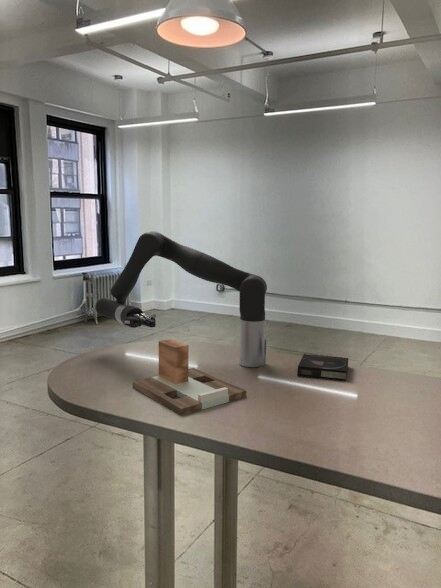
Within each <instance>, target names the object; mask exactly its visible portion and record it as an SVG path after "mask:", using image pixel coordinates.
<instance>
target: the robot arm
mask: <svg viewBox="0 0 441 588" xmlns="http://www.w3.org/2000/svg"><path fill="white" fill-rule="evenodd" d="M154 257H160V258H163V259H166V260H168V261H171V262H173V263H175V264H177V265H178V266H179V267H180V268H181V269H182V270H184V271H185V272H186V273H188V274H190V275H192V276H194V277H196V278H199V279H201V280H203V281H207V282H209V283H213V284H218V285H222V286H223V285H224V286H227V287H230V288H232V289H234V290H235V291H237V292H239V317H240V318H239V319H240V320H239V353H238V356H239V361H238V362H239V363H238V364H239V365H240V366H242V367H246V368H258V367H259V368H261V367H262V366H264V365H265V364H267V339H266V337H265V336H266V335H265V334H266V331H265V330H266V310H265V309H266V308H265V307H266V305H265V304H266V293H267V290H268V285H267V283H266V280H265V279H264V278H263V277H262V276H260V275H256V274H253V273H250V272H247V271H244V270H241V269H238V268H235V267H233V266H231V265H230V264H228V263H226V262H224V261H222V260H220V259H219V258H216V257H214V256H211V255H210V254H207V253H205V252H203V251H200V250H197V249H194V248H193V247H192V248H191V247H189V246H185V245H183V244H180V243H179V242H176V241H175V240H172V239H171V238H169V237H167V236H166V235H164V234H163V233H160V232H158V231H149V232H144V233H142V234H141V235H140V236H139V237H138V239H137V242H136V244H135V246H134V248H133V251H132V253H131V256H130V257H129V259H128V261H127V263H126V265H125V267H124V268H123V270H122V272H120V274H119V276H118V277H117V279H116V280H115V282H114V284H113V285H112V287H111V288H110V290H109V291H110V294H111V296H112V297H113V298H115V300H113V299H110V298H107V297H101V298H99V299H98V300H97V301H96V303H95V306H94V307H95V311H96V313H97V315H99V316H102V317H105V318H109V319H112V320H114V321H115V322H118V323H120V324H122V325H123V326H127V327H129V328H132V329H135V328H138V327H147V328H150V329H151V328H155V327H156V325H157V324H156V322H157V315H156V314H154V313H153V314H152V315H150V316H149V314H146V313H144V311H143V310H142V309H141V308H140V307H137V306H133V305H130V304H126V302H127V298H128V297H129V295H130V294H131V292H132V291H133V290H134V288H135V286H136V284H137V282H138V280H139V277H140V275H141V273H142V271H143V269H144V268H145V266H146V265H147V263H149V262H150V260H151V259H152V258H154Z"/></svg>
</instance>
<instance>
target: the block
mask: <svg viewBox="0 0 441 588" xmlns="http://www.w3.org/2000/svg"><path fill="white" fill-rule="evenodd" d="M189 349H190V347H189V344H186V343H184V342H181V341H179V340H175V339H173V338H169V339H163V340H158V376H160V377H162V378H164V379H166V380H168V381H170V382H172V383H174V384H179V383H183V382H187V381H188V369H189V354H190V353H189V352H190V351H189Z"/></svg>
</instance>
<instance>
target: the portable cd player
mask: <svg viewBox="0 0 441 588" xmlns="http://www.w3.org/2000/svg"><path fill="white" fill-rule="evenodd" d="M348 369H349V357H341V356H330V355H321V354H320V355H319V354H308V353H303V355H302V357H301V359H300V361H299V363H298V365H297V372H296V375H297V377H301V376H303V377H302V378H310V377H312V378H311V379H319V378H320V379H321V380H329V381H339V382H347V374H348Z"/></svg>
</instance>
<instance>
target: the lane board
mask: <svg viewBox="0 0 441 588" xmlns="http://www.w3.org/2000/svg"><path fill="white" fill-rule="evenodd" d="M132 388H133V389H134V390H136V391H138V392H140V393H142V394H144V395H146V396H147V397H149V398H151V399H152V400H153V401H156V402H157V403H159V404H161V405H163V406H164V407H166V408H168V409H170V410H171V411H173V412H175V413H177V414H179V415H180V416H184V415H189V414H192V413H195V412H198V411H201V410H206V409H208V408H212V407H215V406H219V405H223V404H225V403H229V402H233V401H236V400H239V399H243V398H247V389H244V388H241V387H240V386H237V385H234V384H232V383H230V382H227V381H225V380H222V379H221V378H219V377H215V376H213V375H211V374H208V373H206V372H204V371H201V370H199V369H197V368H195V367H192V368H191V367H190V368H188V381H187V382H183V383H179V384H174V383H172V382H170V381H168V380H166V379H164V378H162V377H160V376H159V375H155V376H151V377H150V376H149V377H146V378H142V379H138V380H137V379H136V380H132Z"/></svg>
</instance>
